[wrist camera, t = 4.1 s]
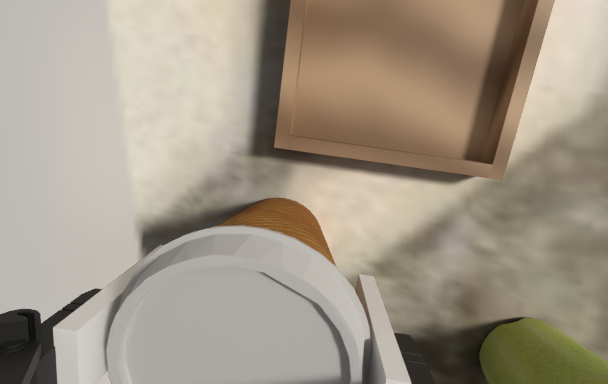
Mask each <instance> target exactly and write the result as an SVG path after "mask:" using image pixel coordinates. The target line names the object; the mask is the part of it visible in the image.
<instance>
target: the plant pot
mask: <svg viewBox="0 0 608 384" xmlns="http://www.w3.org/2000/svg"><path fill="white" fill-rule="evenodd" d="M479 358H480V363H481V367H482V371H483V373H484V375H485V377H486V379H487V382H488V384H608V362H607V361H605V360H603V359H602V358H600V357H599V356H597V355H596V354H594V353H593V352H591V351H590V350H588V349H586V348H585V347H583V346H582V345H580V344H579V343H577V342H576V341H574V340H573V339H571V338H570V337H568V336H567V335H565V334H564V333H562V332H561V331H559V330H557V329H556V328H554V327H553V326H551V325H550V324H548V323H546V322H544V321H541V320H537V319H532V318H523V319H521V320H519V321H516V322H513V323H508V324H501V325H499V326H498V327H496V328H495V329H494V330H493V331H491V332H490V333H489V335H488V336H487V337H486V339H485V340H484V342H483V344H482V346H481V349H480V354H479Z"/></svg>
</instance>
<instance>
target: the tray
mask: <svg viewBox="0 0 608 384" xmlns="http://www.w3.org/2000/svg"><path fill="white" fill-rule="evenodd" d="M554 1H555V0H291V3H290V11H289V20H288V29H287V38H286V47H285V55H284V64H283V73H282V82H281V90H280V99H279V108H278V117H277V125H276V134H275V143H274V148H281V149H288V150H295V151H302V152H309V153H316V154H323V155H330V156H337V157H344V158H351V159H358V160H365V161H372V162H379V163H386V164H393V165H400V166H407V167H414V168H421V169H428V170H435V171H442V172H449V173H456V174H463V175H470V176H477V177H484V178H491V179H498V180H503V177H504V173H505V170H506V166H507V163H508V159H509V156H510V153H511V149H512V146H513V142H514V139H515V135H516V132H517V128H518V125H519V121H520V118H521V115H522V111H523V108H524V104H525V101H526V97H527V94H528V90H529V87H530V83H531V80H532V77H533V73H534V70H535V66H536V63H537V59H538V56H539V52H540V49H541V45H542V42H543V39H544V35H545V32H546V28H547V25H548V21H549V18H550V14H551V11H552V7H553V4H554Z"/></svg>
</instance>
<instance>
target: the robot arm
mask: <svg viewBox="0 0 608 384" xmlns="http://www.w3.org/2000/svg"><path fill="white" fill-rule="evenodd" d="M162 246H164V245H160V246H158V247H157V248H156V249H154V250H153V251H152V252H150V253H149V254H148V255H147V256H145V257H144V258H143V259H141V260H140V261H139V262H137V263H136V264H135V265H134V266H132V267H131V268H130V269H128V270H127V271H126V272H124V273H123V274H122V275H121V276H119V277H118V278H117V279H115V280H114V281H113V282H112V283H110V284H109V285H108V286H106V287H105V288H104V289H93V290H91V291H88V292H86V293H84V294H81V295H80V296H79V297H77V298H76V299H75V300H73V301H72V302H71V303H70V304H68V305H67V306H65V307H63V308H62V310H59V311H58V312H57V313H55V314H54V315H52V316H51V317H50V318H48V319H47V320H46V321H44V322H43V323H42V324H41V319H40V313H39V312H38V311H36V310H32V309H19V310H14V311H9V312H6V313H3V314H0V384H96V383H97V382H98V381H99V380H100V379H101V377H102V376H103V375H104V374H105V373H106V371H107V370H108V365H107V353H106V348H107V343H108V338H109V332H110V328H111V325H112V323H113V320H114V318H115V315H116V313H117V312H118V308H119V305H120V301H121V298H122V294H123V292H124V290H125V288H126V286H127V284H128V283H129V281H130V279H131V277H132V275H133V274H134V273H135V272H136V271H137V269H138V268H139V267H140V266H141V264H142V263H143V262H144V261H145V260H146V259H148V258H149V257H150V256H151V255H152V254H154V253H155V252H156V251H157V250H159V249H160V248H161V247H162ZM356 294H357V296H358V298H359V300H360V302H361V304H362V306H363V309H364V311H365V314H366V317H367V321H368V324H369V328H370V339H371V356H370V363H369V367H368V372H367V376H366V379H365V382H364V384H435V382H434V380H433V378H432V376H431V373H430V371H429V369H428V367H427V365H426V362H425V360H424V358H423V357H422V353H421V351H420V349H419V346H418V344H417V343H416V342H415V341H414V340H413V339H412V338H411V337H410V336H409V335H406V334H399V333H394V332H393V330H392V327H391V324H390V321H389V318H388V315H387V313H386V310H385V307H384V304H383V301H382V299H381V296H380V293H379V290H378V287H377V285H376V282H375V279H374V276H368V275H361V274H359V276H358V281H357V286H356Z"/></svg>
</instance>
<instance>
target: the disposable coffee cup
mask: <svg viewBox="0 0 608 384" xmlns="http://www.w3.org/2000/svg"><path fill="white" fill-rule="evenodd" d="M106 353H107V365H108V376H109V379H110V382H111V384H364V382H365V379H366V376H367V372H368V367H369V363H370V356H371V339H370V328H369V324H368V321H367V317H366V314H365V311H364V309H363V306H362V304H361V302H360V300H359V298H358V296H357V294H356V292H355V290H354V288H353V287H352V286H351V284H350V283H349V282H348V281H347V279H346V278H345V277H344V276H343V274H342V273H341V272H340V270H339V269H338V268H337V267H336V265H335V263H334V260H333V258H332V255H331V253H330V251H329V248H328V245H327V243H326V240H325V238H324V236H323V233H322V231H321V228H320V225H319V223H318V221H317V219H316V218H315V216H314V215H313V214H312V213H311V212H310V211H309V210H308V209H307V208H306V207H304V206H303V205H301V204H299V203H298V202H296V201H292V200H289V199H286V198H269V199H265V200H262V201H259V202H257V203H255V204H253V205H252V206H250V207H248V208H247V209H245V210H243V211H242V212H240V213H238V214H236V215H235V216H233V217H231V218H230V219H228V220H226V221H225V222H223V223H221V224H219V225H217V226H215V227H211V228H207V229H202V230H198V231H194V232H191V233H188V234H186V235H184V236H182V237H179V238H177V239H175V240H173V241H171V242H169V243H167V244H165V245H164V246H162V247H161V248H160V249H159V250H157V251H156V252H155V253H154V254H152V255H151V256H150V257H149V258H148V259H146V260H145V261H144V262H143V263H142V264H141V266H140V267H139V268H138V269H137V271H136V272H135V273H134V274H133V275H132V277H131V279H130V281H129V283H128V284H127V286H126V288H125V290H124V292H123V294H122V298H121V301H120V305H119V308H118V312H117V313H116V315H115V318H114V320H113V323H112V325H111V328H110V332H109V338H108V343H107V348H106Z"/></svg>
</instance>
